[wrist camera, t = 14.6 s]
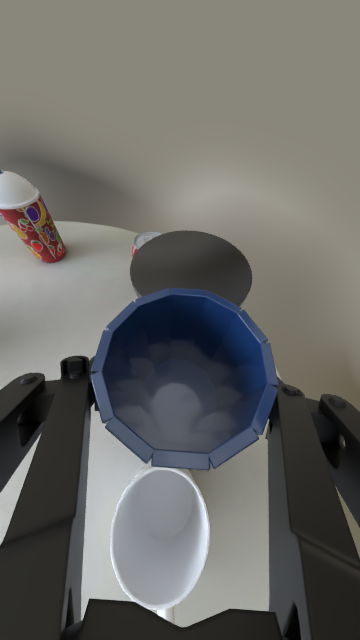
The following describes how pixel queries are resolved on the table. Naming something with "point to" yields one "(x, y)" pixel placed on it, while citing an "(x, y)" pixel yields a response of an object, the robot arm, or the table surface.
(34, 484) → the robot arm
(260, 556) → the table surface
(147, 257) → the brown spool
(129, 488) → the cup
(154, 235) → the soda can
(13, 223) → the smoothie
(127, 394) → the blue cup
